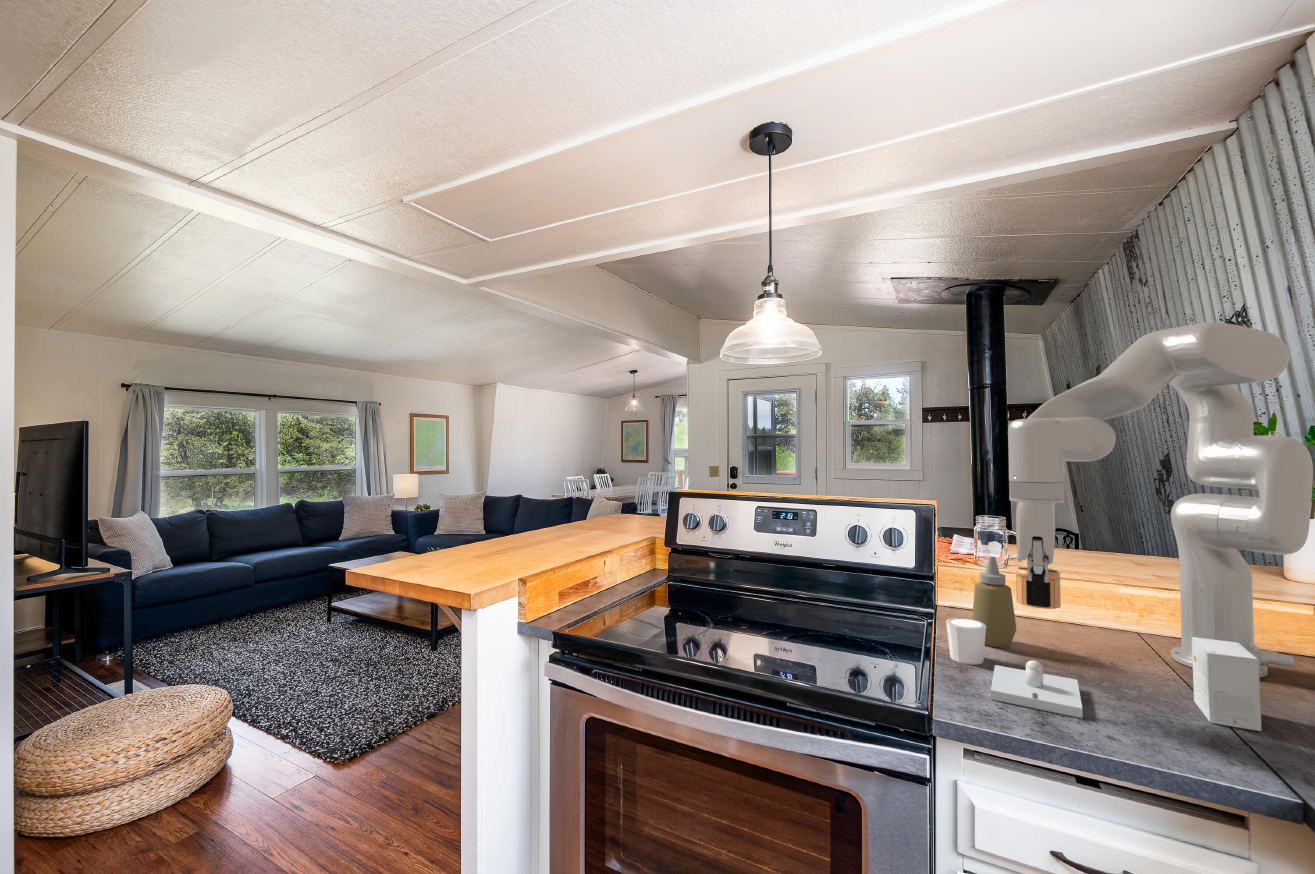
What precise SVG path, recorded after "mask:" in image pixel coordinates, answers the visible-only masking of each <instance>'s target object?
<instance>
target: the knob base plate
mask: <svg viewBox="0 0 1315 874" xmlns="http://www.w3.org/2000/svg"><path fill="white" fill-rule="evenodd" d="M990 700H992V701H997V702H1001V703H1003V702H1004V703H1008V704H1012V705H1017V706H1022V707H1025V708H1032V709H1036V710H1041V711H1046V712H1050V713H1055V714H1059V715H1064V716H1069V717H1074V718H1079V719H1083V717H1084V715H1083V704H1082V699H1081V693H1080V689H1079V681H1078V679H1075V678H1070V677H1064V676H1059V675H1053V674H1048V673H1044V667H1043V664H1041V663H1040V662H1039V661H1037V660H1029V661H1027V662H1026V664H1025V669H1020V668H1019V669H1018V668H1015V667H1014V668H1013V667H1010V666H1009V667H1007V666H1003V665H997V664H994V669H993V674H992V680H991V687H990Z"/></svg>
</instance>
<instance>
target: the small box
mask: <svg viewBox="0 0 1315 874" xmlns="http://www.w3.org/2000/svg"><path fill="white" fill-rule="evenodd" d="M1192 660H1193V668H1192V675H1193V676H1192V677H1193V678H1192V680H1193V681H1192V683H1193V702H1194V704H1196V705H1197V707H1198V708H1199V710H1200V711H1201V712H1202V714H1203V715H1204V716H1205V718H1206V719H1207V720H1208V722H1209V723H1210V724H1216V725H1220V726H1221V725H1222V726H1227V727H1232V728H1237V729H1238V728H1239V729H1245V730H1249V731H1256V732H1262V730H1263V729H1262V706H1261V705H1262V704H1261V686H1260V682H1261V681H1260V678H1259V660H1258V659H1257V658H1256V657H1255V656H1254V655H1252V654H1251V653H1250V652H1249V651H1248V650H1246V649H1245V648H1244V647H1243V646H1242V645H1241V644H1239V643H1236V642H1229V641H1220V640H1213V639H1205V638H1196V637H1192Z"/></svg>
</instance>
